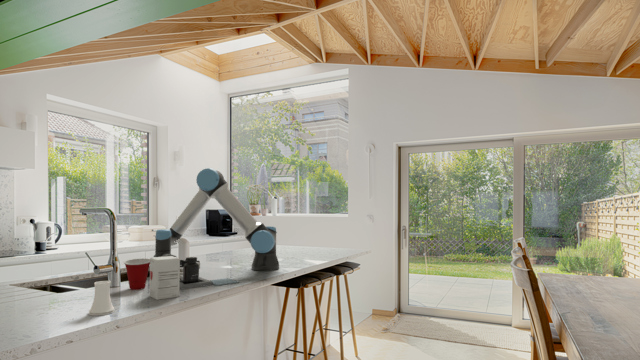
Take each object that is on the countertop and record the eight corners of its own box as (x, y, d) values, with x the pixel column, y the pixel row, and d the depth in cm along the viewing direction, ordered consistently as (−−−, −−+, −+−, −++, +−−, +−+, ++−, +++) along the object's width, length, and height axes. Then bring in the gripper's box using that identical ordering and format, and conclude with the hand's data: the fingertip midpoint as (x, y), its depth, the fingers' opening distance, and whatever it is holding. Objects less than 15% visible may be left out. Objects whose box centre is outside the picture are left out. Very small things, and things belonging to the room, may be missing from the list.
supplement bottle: (196, 286, 179) (196, 258, 180) (180, 286, 179) (180, 258, 180) (200, 283, 186) (201, 256, 186) (185, 283, 186) (186, 256, 187)
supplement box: (148, 296, 160) (149, 257, 161) (171, 292, 166) (172, 255, 166) (155, 300, 153) (156, 259, 154) (179, 296, 159) (180, 257, 159)
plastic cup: (118, 291, 168) (119, 262, 169) (129, 286, 179) (130, 258, 180) (145, 291, 169) (145, 261, 169) (154, 286, 179) (155, 258, 180)
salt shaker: (101, 316, 131) (102, 284, 131) (83, 314, 133) (84, 283, 134) (119, 310, 138) (120, 280, 139) (102, 308, 140) (102, 279, 141)
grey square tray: (199, 280, 192) (199, 277, 192) (212, 284, 181) (212, 281, 181) (169, 284, 183) (169, 280, 183) (181, 289, 172) (181, 285, 173)
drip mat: (228, 279, 195) (228, 278, 195) (239, 282, 186) (239, 281, 186) (206, 282, 188) (206, 280, 188) (216, 285, 179) (216, 284, 179)
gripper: (193, 267, 211) (210, 272, 195) (142, 272, 196) (156, 278, 179) (193, 252, 212) (210, 256, 195) (143, 256, 196) (157, 261, 180)
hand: (185, 267), depth 187 cm, fingers open, 13 cm apart
